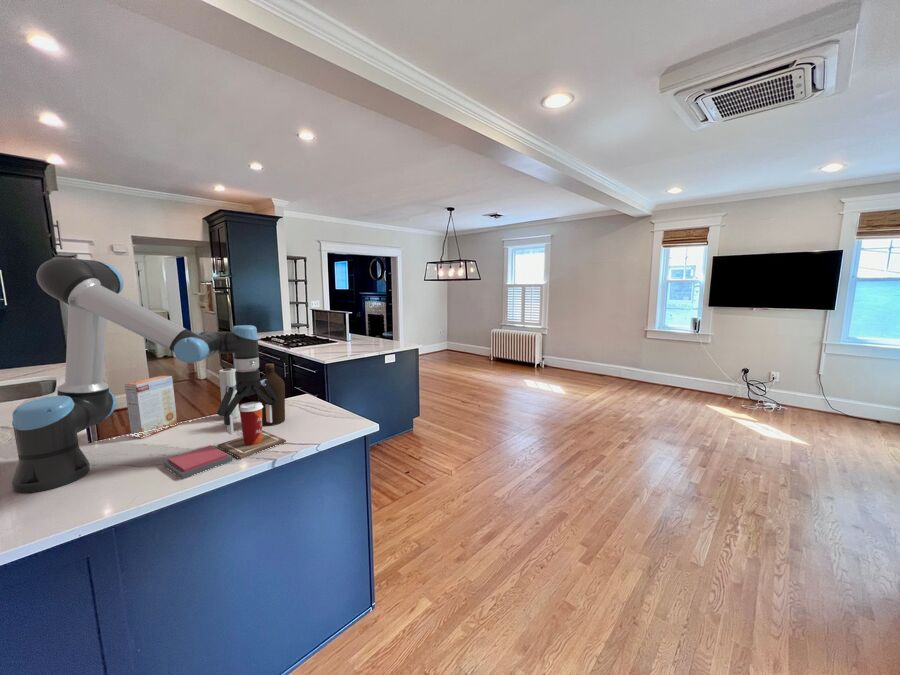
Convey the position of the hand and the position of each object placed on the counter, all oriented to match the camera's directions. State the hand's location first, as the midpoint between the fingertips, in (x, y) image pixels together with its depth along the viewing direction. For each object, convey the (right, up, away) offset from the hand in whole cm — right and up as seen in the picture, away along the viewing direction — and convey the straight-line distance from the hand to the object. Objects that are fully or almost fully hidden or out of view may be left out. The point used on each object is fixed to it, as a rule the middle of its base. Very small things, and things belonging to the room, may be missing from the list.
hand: (250, 427), depth 127 cm
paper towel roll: (-24, -3, +29) cm, 38 cm away
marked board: (0, -7, +1) cm, 7 cm away
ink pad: (-9, -8, -13) cm, 18 cm away
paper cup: (0, -6, +1) cm, 6 cm away
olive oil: (-4, -4, +24) cm, 24 cm away
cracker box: (-45, -5, +13) cm, 47 cm away
